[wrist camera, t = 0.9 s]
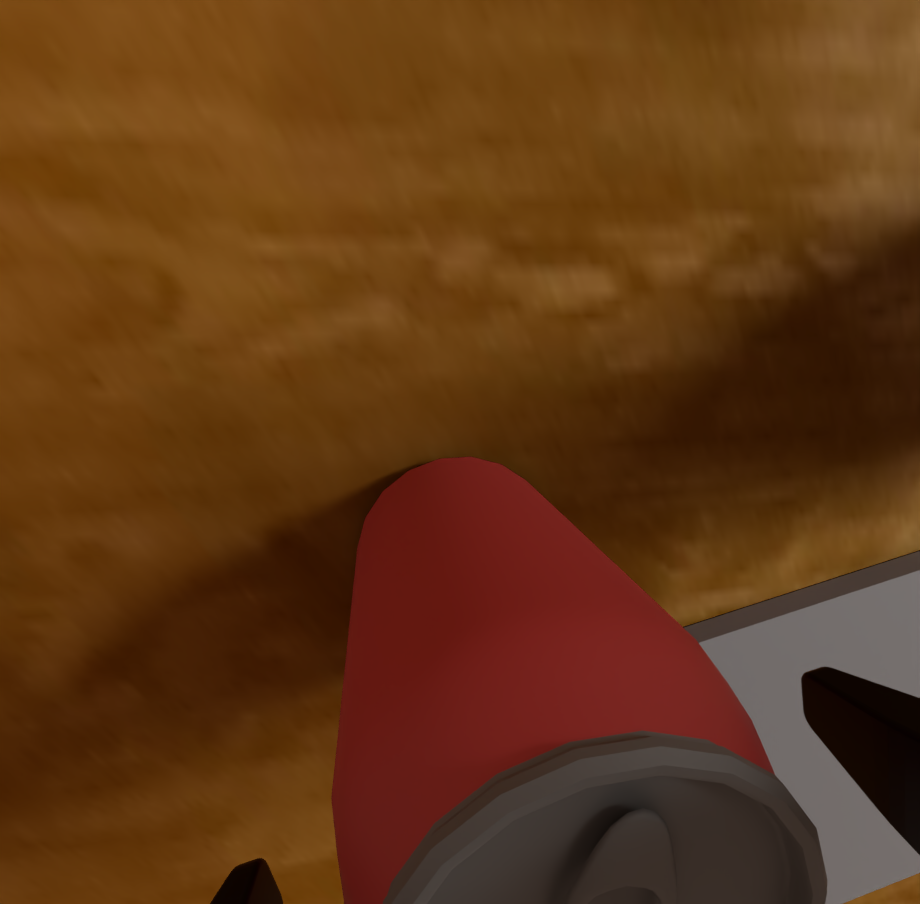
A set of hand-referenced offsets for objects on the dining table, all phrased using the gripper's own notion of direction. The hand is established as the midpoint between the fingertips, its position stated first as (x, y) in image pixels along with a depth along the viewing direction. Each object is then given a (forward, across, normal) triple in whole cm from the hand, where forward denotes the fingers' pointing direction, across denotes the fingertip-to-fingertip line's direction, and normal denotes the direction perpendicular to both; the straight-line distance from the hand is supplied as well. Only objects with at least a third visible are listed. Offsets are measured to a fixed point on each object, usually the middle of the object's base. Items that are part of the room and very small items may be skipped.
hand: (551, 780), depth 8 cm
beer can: (+10, 0, 0) cm, 10 cm away
